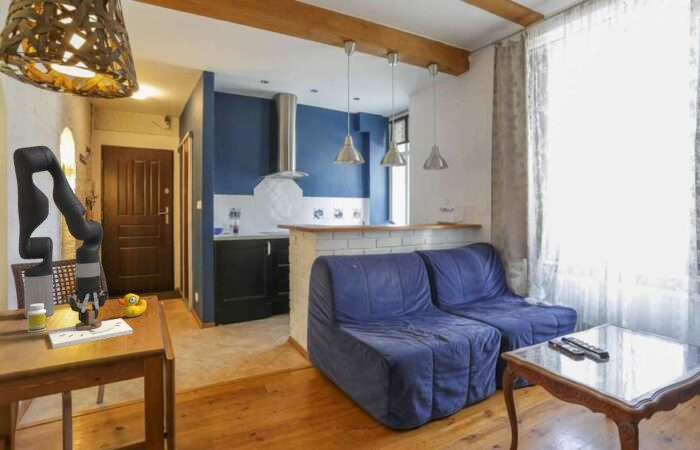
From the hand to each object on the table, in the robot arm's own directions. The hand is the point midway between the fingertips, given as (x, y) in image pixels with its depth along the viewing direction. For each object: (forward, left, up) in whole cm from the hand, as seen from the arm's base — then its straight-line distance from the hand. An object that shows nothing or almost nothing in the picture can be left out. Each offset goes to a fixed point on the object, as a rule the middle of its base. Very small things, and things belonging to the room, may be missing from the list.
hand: (88, 320), depth 138 cm
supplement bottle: (-13, -14, -4) cm, 20 cm away
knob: (+2, 0, -2) cm, 3 cm away
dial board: (+4, 0, -4) cm, 6 cm away
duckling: (-10, +17, -4) cm, 20 cm away
